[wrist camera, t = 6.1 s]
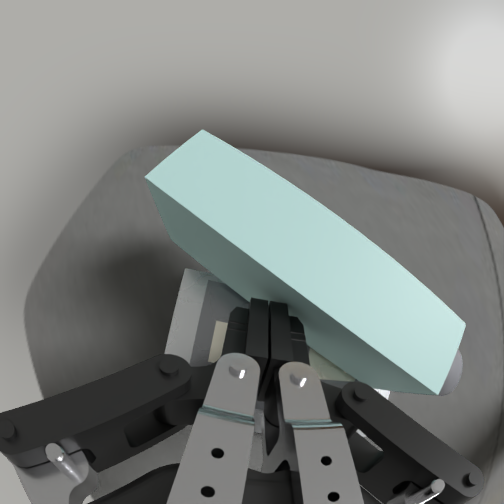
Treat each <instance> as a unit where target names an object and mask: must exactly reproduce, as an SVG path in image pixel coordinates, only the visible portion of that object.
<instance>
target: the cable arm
mask: <svg viewBox="0 0 504 504" xmlns="http://www.w3.org/2000/svg"><path fill="white" fill-rule="evenodd" d="M145 179H146V182H147V184H148V187H149V189H150V192H151V194H152V197H153V199H154V201H155V204H156V206H157V209H158V211H159V213H160V216H161V218H162V220H163V223H164V225H165V227H166V230H167V232H168V234H169V236H170V239H171V240H172V241H173V242H174V243H176V244H177V245H178V246H179V247H180V248H182V249H183V250H184V251H185V252H187V253H188V254H189V255H190V256H191V257H193V258H194V259H195V260H196V261H198V262H199V263H200V264H201V265H203V266H204V267H205V268H206V269H208V270H209V271H210V272H211V273H213V274H214V275H215V276H216V277H218V278H219V279H220V280H221V281H223V282H224V283H225V284H227V285H228V286H229V287H230V288H232V289H233V290H234V291H236V292H237V293H238V294H239V295H241V296H242V297H243V298H245V299H246V300H247V301H249V302H250V299H251V297H252V298H258V299H263V300H268V305H269V302H270V301H275V302H281V303H286V304H287V305H288V313H289V316H294V317H298V319H299V320H300V321H301V323H302V324H303V326H304V332H305V337H306V343H307V345H308V346H309V347H311V348H312V349H314V350H315V351H316V352H318V353H319V354H321V355H322V356H323V357H325V358H326V359H328V360H329V361H331V362H332V363H333V364H335V365H336V366H338V367H339V368H341V369H342V370H344V371H345V372H346V373H348V374H349V375H351V376H352V377H354V378H355V379H357V380H358V381H360V382H363V383H365V384H367V385H369V386H371V387H372V388H373V389H381V390H387V391H394V392H403V393H413V394H424V395H439V396H444V395H447V394H449V393H451V392H452V391H453V390H454V389H455V388H456V386H457V384H458V383H459V381H460V378H461V374H462V369H463V361H462V356H461V353H460V351H459V349H458V347H459V344H460V341H461V338H462V336H463V333H464V329H465V326H466V324H465V323H464V322H463V321H462V320H461V319H460V318H459V317H458V316H457V315H456V314H455V313H454V312H453V311H452V310H451V309H450V308H449V307H448V306H447V305H445V304H444V303H443V302H442V301H441V300H440V299H439V298H438V297H437V296H436V295H435V294H434V293H432V292H431V291H430V290H429V289H428V288H427V287H426V286H425V285H423V284H422V283H421V282H420V281H419V280H418V279H417V278H415V277H414V276H413V275H412V274H411V273H410V272H408V271H407V270H406V269H405V268H404V267H402V266H401V265H400V264H399V263H398V262H396V261H395V260H394V259H393V258H392V257H390V256H389V255H388V254H387V253H385V252H384V251H383V250H382V249H380V248H379V247H378V246H377V245H375V244H374V243H373V242H372V241H370V240H369V239H368V238H366V237H365V236H364V235H363V234H361V233H360V232H359V231H357V230H356V229H355V228H353V227H352V226H351V225H349V224H348V223H347V222H345V221H344V220H343V219H341V218H340V217H339V216H337V215H336V214H334V213H333V212H332V211H330V210H329V209H328V208H326V207H325V206H323V205H322V204H320V203H319V202H318V201H316V200H315V199H313V198H312V197H310V196H309V195H308V194H306V193H305V192H303V191H302V190H300V189H299V188H297V187H296V186H294V185H293V184H291V183H290V182H288V181H287V180H285V179H284V178H282V177H281V176H279V175H278V174H276V173H274V172H273V171H271V170H270V169H268V168H267V167H265V166H263V165H262V164H260V163H259V162H257V161H255V160H254V159H252V158H251V157H249V156H247V155H246V154H244V153H242V152H241V151H239V150H237V149H236V148H234V147H232V146H230V145H229V144H227V143H225V142H224V141H222V140H220V139H218V138H217V137H215V136H213V135H211V134H209V133H208V132H206V131H204V130H201V131H200V132H198V133H197V134H196V135H195V136H193V137H192V138H191V139H189V140H188V141H187V142H186V143H184V144H183V145H182V146H181V147H179V148H178V149H177V150H176V151H174V152H173V153H172V154H171V155H170V156H168V157H167V158H166V159H165V160H164V161H162V162H161V163H160V164H159V165H158V166H157V167H155V168H154V169H153V170H152V171H151V172H150V173H149V174H147V175H146V176H145Z"/></svg>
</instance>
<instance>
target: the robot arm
mask: <svg viewBox="0 0 504 504" xmlns="http://www.w3.org/2000/svg"><path fill="white" fill-rule="evenodd" d="M257 390H258V391H257ZM256 396H257V401H263V402H264V410H263V413H262V415H261V431H262V450H263V463H262V467H261V472H258V471H255V470H252V469H249V468H248V464H249V458H250V452H251V445H252V439H253V433H254V426H255V420H254V419H253V416H254V409H255V403H256ZM193 424H194V425H193ZM187 425H193V427H192V430H191V433H190V436H189V439H188V442H187V445H186V448H185V451H184V454H183V457H182V460H181V463H176V464H171V465H166V466H163V467H159V468H157V469H154V470H152V471H150V472H148V473H146V474H145V475H143V476H141V477H140V478H138V479H136V480H134V481H132V482H131V483H129V484H127V485H125V486H123V487H121V488H119V489H117V490H115V491H113V492H111V493H109V494H107V495H105V496H103V497H101V498H99V499H97V500H94V501H92V502H90V503H88V504H381V503H380V502H379V501H377V500H376V499H375V498H374V497H373V496H372V495H374V496H375V497H376V498H377V499H379V500H380V501H381V502H382V503H384V504H463V503H465V502H467V501H468V500H470V499H472V498H473V497H475V496H476V495H478V494H479V493H480V492H481V490H482V488H483V485H484V476H483V473H482V471H481V470H480V469H479V468H478V467H477V466H476V465H474V464H473V463H471V462H470V461H469V460H467V459H466V458H464V457H463V456H462V455H460V454H459V453H457V452H456V451H455V450H453V449H452V448H451V447H449V446H448V445H446V444H445V443H444V442H442V441H441V440H440V439H438V438H437V437H436V436H434V435H433V434H432V433H430V432H429V431H428V430H426V429H425V428H424V427H422V426H421V425H420V424H418V423H417V422H416V421H414V420H413V419H412V418H410V417H409V416H408V415H407V414H405V413H404V412H403V411H401V410H400V409H399V408H397V407H396V406H395V405H394V404H392V403H391V402H390V401H388V400H387V399H386V398H385V397H383V396H382V395H381V394H380V393H378V392H377V391H376V390H375V389H373V388H372V387H371V386H369V385H367V384H365V383H363V382H358V381H353V382H349V383H347V384H346V385H344V387H343V388H338V387H335V386H332V385H329V384H327V383H324V382H322V381H321V380H320V378H319V375H318V373H317V372H316V371H315V369H313V368H312V367H311V366H310V361H309V355H308V349H307V343H306V337H305V332H304V326H303V324H302V323H301V321H300V320H299V319H298V317H294V316H289V313H288V305H287V304H286V303H281V302H275V301H270V302H269V305H268V300H263V299H258V298H252V297H251V299H250V304H249V308H248V309H247V308H242V307H236V308H235V309H234V310H232V311H231V312H230V316H229V321H228V325H227V330H226V335H225V340H224V344H223V349H222V354H221V356H220V358H219V359H218V360H217V361H216V362H215V363H213V364H210V365H207V366H200V367H191V366H190V364H189V363H188V362H187V361H186V360H185V359H183V358H182V357H180V356H177V355H173V354H162V355H158V356H155V357H153V358H151V359H148V360H146V361H144V362H141V363H139V364H136V365H134V366H132V367H129V368H127V369H124V370H122V371H119V372H117V373H114V374H112V375H109V376H107V377H104V378H102V379H99V380H97V381H94V382H91V383H89V384H86V385H83V386H81V387H78V388H75V389H72V390H70V391H67V392H64V393H61V394H58V395H55V396H53V397H50V398H47V399H44V400H41V401H38V402H35V403H32V404H28V405H25V406H22V407H19V408H15V409H12V410H9V411H5V412H2V413H0V451H1V452H2V454H3V455H5V456H6V457H7V459H8V460H9V461H10V462H11V463H12V464H13V465H14V467H15V469H16V472H17V474H18V477H19V479H20V481H21V483H22V485H23V487H24V490H25V492H26V494H27V496H28V497H29V500H30V501H31V503H32V504H82V503H83V501H84V499H85V498H86V497H87V496H88V495H90V494H92V493H93V492H94V491H95V490H96V489H97V487H98V483H99V478H98V474H97V473H98V472H100V471H102V470H105V469H107V468H109V467H111V466H114V465H116V464H118V463H120V462H122V461H124V460H126V459H128V458H130V457H132V456H134V455H136V454H138V453H140V452H142V451H144V450H146V449H148V448H150V447H152V446H153V445H155V444H157V443H159V442H161V441H163V440H164V439H166V438H168V437H170V436H171V435H173V434H175V433H177V432H178V431H180V430H182V429H183V428H185V427H186V426H187ZM358 429H359V430H360V431H361V432H362V433H364V434H365V435H366V436H367V437H368V438H369V439H371V440H372V441H373V442H374V443H375V444H377V445H378V446H379V447H380V448H381V449H382V450H383V451H379V450H378V449H376V448H375V447H374V446H373V445H371V444H370V443H369V442H368V441H367V440H366V439H364V438H363V437H362V436H361V435H360V434H358V433H357V432H356V431H357V430H358ZM359 484H360V485H362V486H363V487H364V488H365V489H366V490H368V491H369V492H370V493H371V494H372V495H370V494H369V493H368V492H367V491H366V490H365V489H364V488H362V487H361V486H360V485H359Z"/></svg>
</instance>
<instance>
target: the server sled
mask: <svg viewBox="0 0 504 504" xmlns="http://www.w3.org/2000/svg"><path fill="white" fill-rule="evenodd" d="M249 304H250V302H249V301H247V300H246V299H245V298H243V297H242V296H241V295H239V294H238V293H237V292H236V291H234V290H233V289H232V288H230V287H229V286H228V285H227V284H225V283H224V282H223V281H221V280H220V279H219V278H218V277H216V276H215V275H214V274H211V273H207V272H202V271H197V270H193V269H188V268H185V271H184V275H183V278H182V282H181V286H180V290H179V294H178V298H177V302H176V306H175V310H174V314H173V318H172V322H171V327H170V331H169V335H168V340H167V344H166V349H165V354H173V355H177V356H180V357H182V358H183V359H185V360H186V361H187V362H188V363H189V364H190V366H191V367H200V366H207V365H210V364H213V363H215V362H216V361H217V360H218V359H219V358H220V356H221V354H222V349H223V344H224V340H225V335H226V330H227V325H228V321H229V316H230V312H231V311H232V310H234V309H235V308H236V307H242V308H247V309H248V308H249ZM307 349H308V355H309V361H310V366H311V367H312V368H313V369H315V371H316V372H317V373H318V375H319V378H320V380H321V381H322V382H324V383H327V384H329V385H332V386H335V387H338V388H343V387H344V385H346V384H347V383H349V382H353V381H358V380H357V379H355V378H354V377H352V376H351V375H349V374H348V373H346V372H345V371H344V370H342V369H341V368H339V367H338V366H336V365H335V364H333V363H332V362H331V361H329V360H328V359H326V358H325V357H323V356H322V355H321V354H319V353H318V352H316V351H315V350H314V349H312V348H311V347H309V346H308V345H307ZM358 382H360V381H358ZM375 390H376V391H377V392H378V393H380V394H381V395H382V396H383V397H385V398H386V399H387V400H388V396H389V391H387V390H381V389H375ZM257 391H258V390H257ZM263 410H264V402H263V401H257V396H256V403H255V409H254V416H253V419H254V420H255V426H254V432H257V433H262V431H261V415H262V413H263ZM356 432H357V433H358V434H360V435H361V436H362V437H365V436H366V435H365V434H364V433H362V432H361V431H360V430H359V429H358V430H357V431H356Z"/></svg>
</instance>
